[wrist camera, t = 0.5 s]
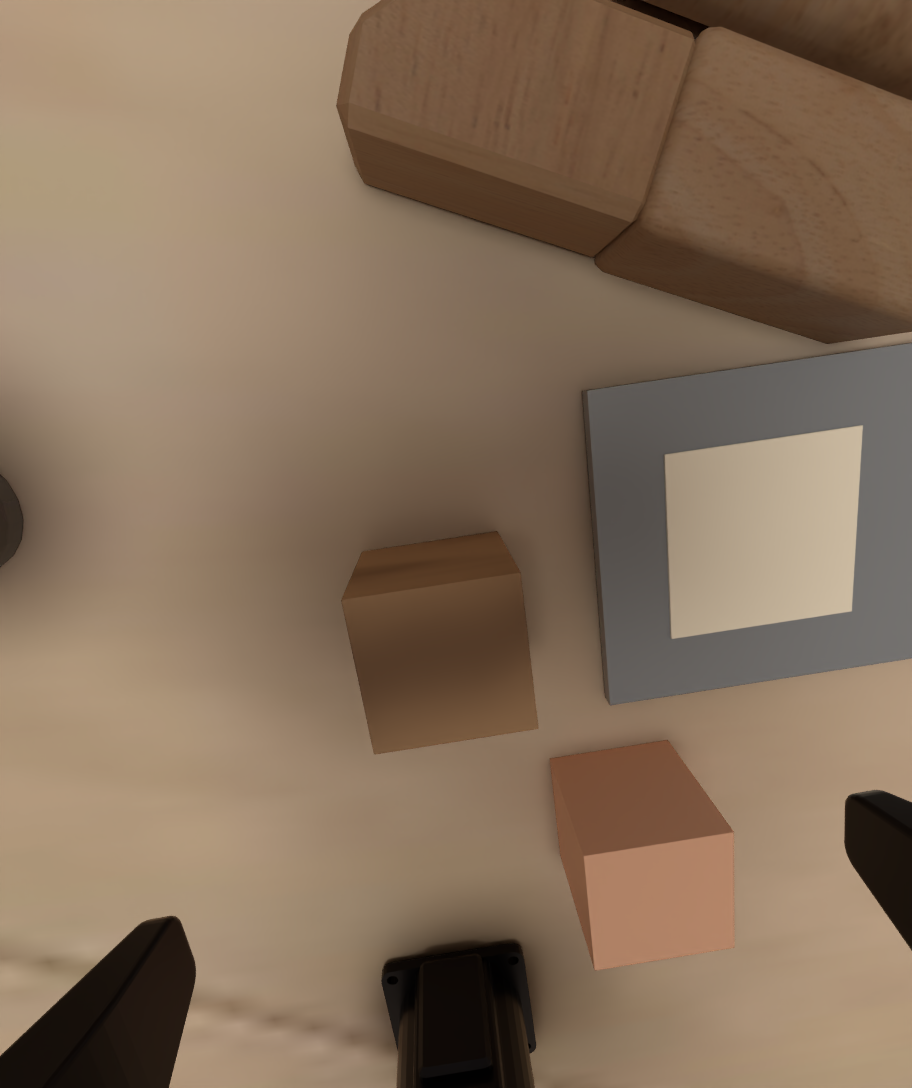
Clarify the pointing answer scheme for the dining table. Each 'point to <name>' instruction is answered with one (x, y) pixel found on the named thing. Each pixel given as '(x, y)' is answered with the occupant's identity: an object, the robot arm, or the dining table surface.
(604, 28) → the wooden block set
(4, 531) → the beverage cup
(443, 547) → the walnut block
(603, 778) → the terracotta block
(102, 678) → the dining table surface
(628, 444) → the grey flat plate
